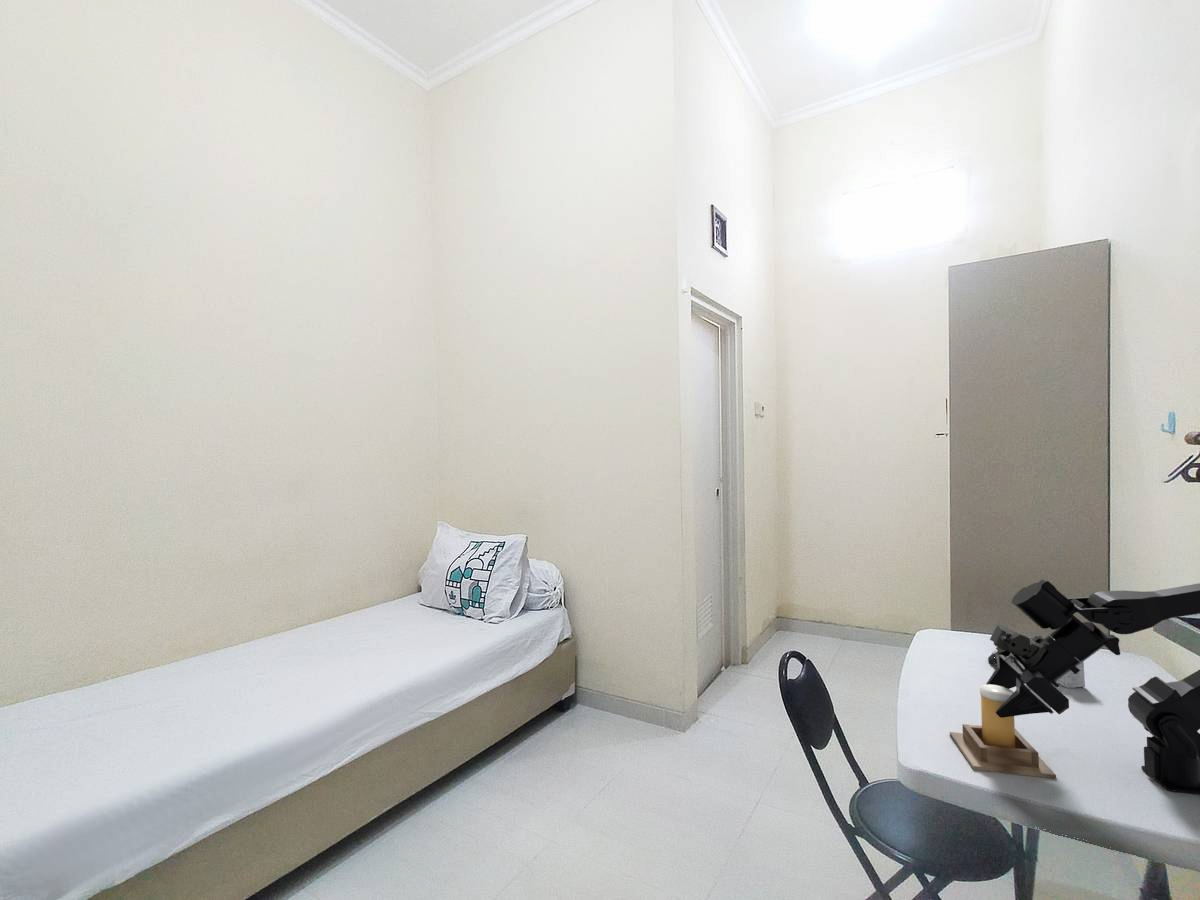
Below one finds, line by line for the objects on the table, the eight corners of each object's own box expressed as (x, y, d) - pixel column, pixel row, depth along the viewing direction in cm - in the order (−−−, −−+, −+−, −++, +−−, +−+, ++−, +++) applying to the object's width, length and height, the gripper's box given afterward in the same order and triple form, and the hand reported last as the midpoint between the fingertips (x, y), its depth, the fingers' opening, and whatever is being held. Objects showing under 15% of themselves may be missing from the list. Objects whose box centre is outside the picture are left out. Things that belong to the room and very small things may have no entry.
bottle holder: (1022, 742, 103) (1021, 725, 103) (1056, 778, 92) (1055, 759, 92) (949, 735, 106) (949, 718, 107) (973, 769, 95) (972, 751, 95)
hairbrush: (1027, 636, 153) (1028, 659, 133) (1028, 649, 153) (1028, 675, 133) (991, 631, 158) (986, 653, 138) (991, 644, 158) (986, 668, 138)
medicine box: (1085, 688, 125) (1084, 649, 125) (1065, 688, 125) (1064, 650, 126) (1057, 674, 133) (1056, 638, 133) (1039, 674, 133) (1037, 638, 133)
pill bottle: (998, 743, 102) (996, 683, 102) (1023, 757, 97) (1021, 694, 97) (975, 746, 101) (972, 685, 101) (999, 761, 96) (997, 697, 96)
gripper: (1007, 599, 106) (942, 651, 110) (1041, 628, 89) (963, 688, 93) (1059, 645, 103) (991, 696, 107) (1105, 684, 86) (1022, 743, 90)
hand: (990, 703), depth 100 cm, fingers open, 9 cm apart
